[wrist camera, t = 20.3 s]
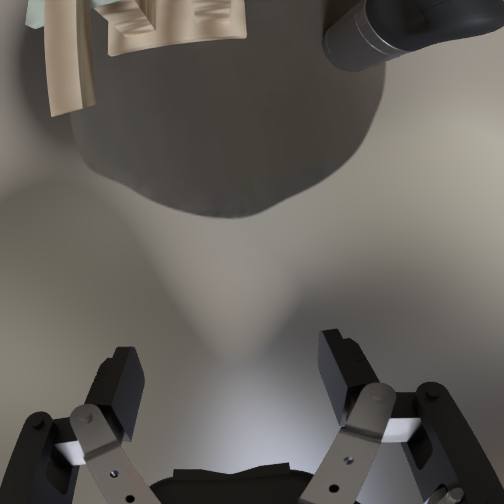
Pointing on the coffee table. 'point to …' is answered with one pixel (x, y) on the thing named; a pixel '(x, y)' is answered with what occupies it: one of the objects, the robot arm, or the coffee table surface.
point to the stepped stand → (160, 21)
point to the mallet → (68, 55)
